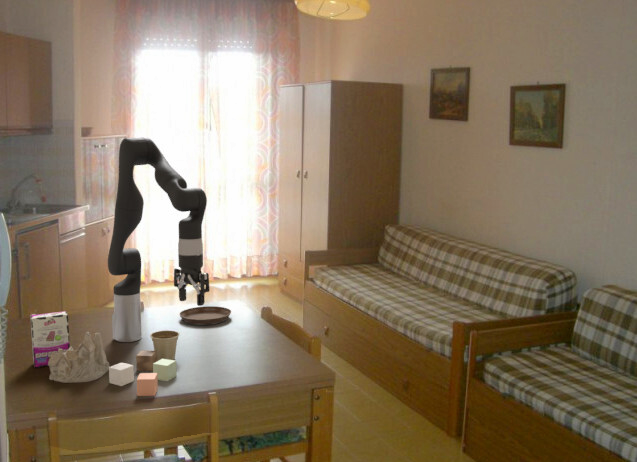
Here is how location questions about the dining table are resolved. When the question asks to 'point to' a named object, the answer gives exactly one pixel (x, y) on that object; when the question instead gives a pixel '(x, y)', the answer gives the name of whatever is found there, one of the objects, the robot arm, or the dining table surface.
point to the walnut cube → (146, 360)
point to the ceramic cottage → (80, 362)
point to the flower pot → (165, 344)
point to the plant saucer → (205, 315)
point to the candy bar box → (49, 336)
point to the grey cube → (121, 374)
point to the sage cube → (165, 369)
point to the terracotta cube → (147, 384)
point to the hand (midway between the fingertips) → (191, 303)
